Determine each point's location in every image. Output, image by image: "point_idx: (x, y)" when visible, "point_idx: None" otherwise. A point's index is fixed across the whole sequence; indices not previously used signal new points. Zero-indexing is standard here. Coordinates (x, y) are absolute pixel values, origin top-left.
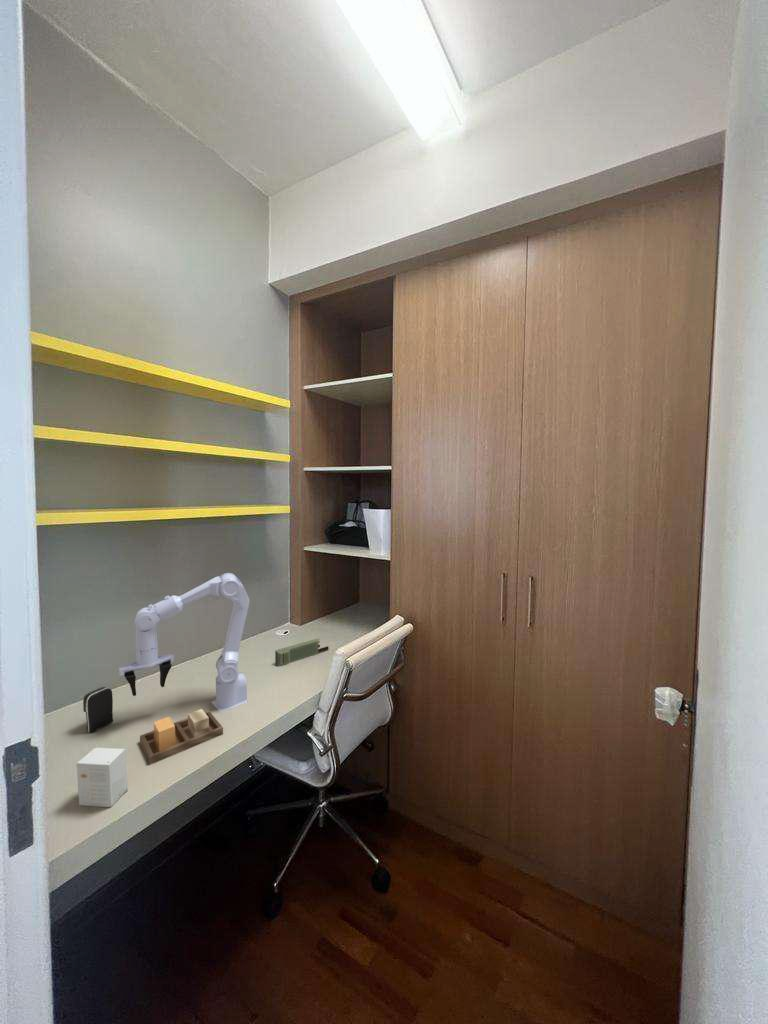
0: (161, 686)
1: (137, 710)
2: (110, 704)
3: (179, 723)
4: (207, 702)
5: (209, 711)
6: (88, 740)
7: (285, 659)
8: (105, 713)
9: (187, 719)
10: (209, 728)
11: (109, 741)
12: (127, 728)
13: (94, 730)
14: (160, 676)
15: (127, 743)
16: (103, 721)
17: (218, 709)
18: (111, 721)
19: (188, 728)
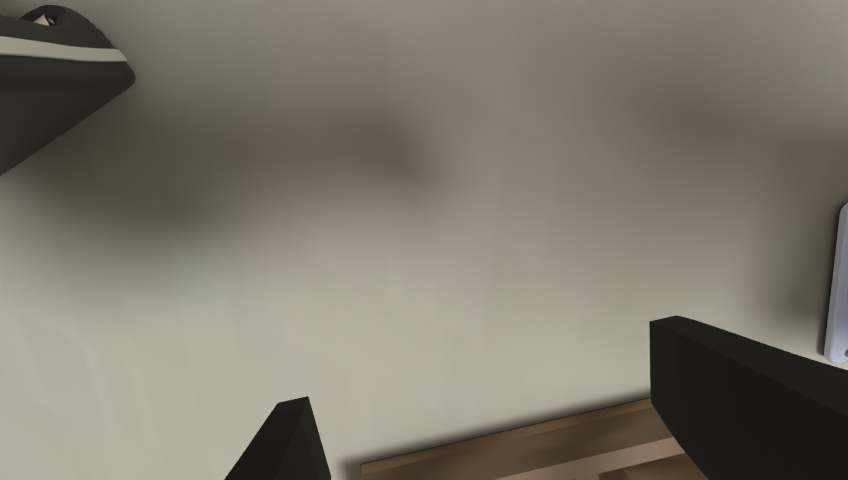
0: (652, 386)
1: None
2: (19, 102)
3: (599, 469)
4: (822, 170)
5: None
6: (5, 272)
7: None
8: (20, 132)
9: (653, 456)
10: None
11: (169, 354)
12: (272, 245)
13: (6, 170)
14: (753, 394)
15: None
16: (46, 134)
17: (836, 332)
18: (124, 89)
19: (627, 477)
